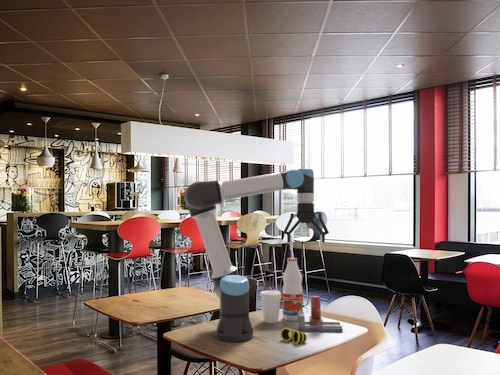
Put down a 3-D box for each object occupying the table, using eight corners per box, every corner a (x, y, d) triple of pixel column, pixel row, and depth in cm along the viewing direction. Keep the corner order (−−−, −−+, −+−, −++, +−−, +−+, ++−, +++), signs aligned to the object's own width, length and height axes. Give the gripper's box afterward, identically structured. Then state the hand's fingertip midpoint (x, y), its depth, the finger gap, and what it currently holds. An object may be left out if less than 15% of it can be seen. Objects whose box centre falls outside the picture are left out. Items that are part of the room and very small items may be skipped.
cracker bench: (298, 331, 178) (298, 316, 178) (297, 325, 188) (297, 311, 188) (342, 332, 176) (342, 317, 177) (339, 325, 186) (339, 311, 187)
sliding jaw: (310, 325, 179) (310, 298, 179) (309, 320, 187) (309, 294, 187) (322, 325, 178) (322, 298, 179) (320, 320, 186) (320, 295, 187)
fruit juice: (303, 316, 203) (302, 257, 204) (302, 321, 194) (302, 259, 195) (283, 316, 204) (282, 257, 206) (281, 321, 195) (281, 259, 196)
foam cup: (265, 324, 189) (265, 294, 189) (257, 319, 197) (257, 291, 198) (284, 322, 192) (284, 293, 193) (276, 317, 201) (276, 289, 201)
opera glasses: (307, 345, 163) (308, 331, 164) (298, 345, 159) (299, 331, 160) (288, 339, 170) (290, 326, 171) (279, 339, 166) (281, 326, 167)
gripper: (278, 202, 191) (278, 250, 189) (334, 202, 189) (335, 250, 188) (278, 202, 198) (278, 248, 197) (332, 202, 196) (332, 249, 195)
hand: (306, 249), depth 192 cm, fingers open, 13 cm apart
